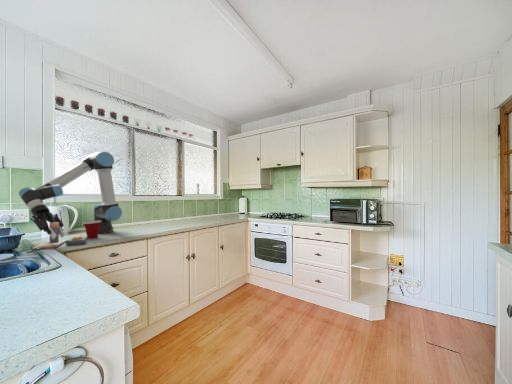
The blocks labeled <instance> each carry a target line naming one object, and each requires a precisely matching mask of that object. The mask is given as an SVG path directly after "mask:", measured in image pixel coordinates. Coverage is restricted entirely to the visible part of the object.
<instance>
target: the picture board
mask: <svg viewBox="0 0 512 384" xmlns="http://www.w3.org/2000/svg"><path fill="white" fill-rule="evenodd" d="M67 240H68V239H63V240H60V239H59V242H58V243H50V240H47V241H46V240H45V241H43V242H41V243H39V244H38V245H36V246H34V247H32V248H30V249H31V251H36V250H35V249H37V248H39V249H41V250H49V249H51V250H52V249H57V248H59V247H61V246H62V245H64V244H66V241H67Z"/></svg>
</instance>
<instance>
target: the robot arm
mask: <svg viewBox="0 0 512 384" xmlns="http://www.w3.org/2000/svg"><path fill="white" fill-rule="evenodd" d="M114 163H115V158H114V156H113V155H112V154H111V153H110V152H108V151H97V152H93V153H90V154H89V155H88V156H87V157H85V158H83V159H82V160H80V163H78V164H76V165H75V166H73V167H72V168H70V169H68V170H67V171H65V172H63V173H62V174H60V175H58V176H56V177H55V178H53V179H52V180H50V181H48V182H47V183H45V184H43V185H42V186H39V187H37V188H36V189H35V188H34V187H31V186H30V187H29V186H27V187H24V188H21V189H20V190H18V195H19V197H20V199H21V200H22V201H23V203H24V204H25V206H27V208H28V210H29V211H30V213H31V214H32V216H31V217H30V220H31V221H32V222H33V223H34V224H35V225H36V227H37V228H38V229H39V230H40V231H43V232H45V233H46V234H47V235H49V237H50V236H51V237H52V239H55V237H56V236H57V235H56V234H55V233H54V231H53V230H52V228H50V225H49V224H50V223H52V222H59V237H60V238H64V236H66V233H65V231H64V229H63V227H64V225H65V224H64V223H63V221H62V220H61V219H60V217H59V215H58V213H55V214H53V213H52V212H51V210H50V209H49V207H48V206H47V205H46V202H44V201H45V200H49V199H52V198H57V197H59V196H60V197H61V196H62V195H64V189H63V188H64V187H65V186H67V185H69V184H71V182H73V181H75V180H76V179H78V178H80V177H81V176H83V175H85V174H86V173H88V172H92V171H96V172H97V176H98V182H99V188H100V195H101V200H102V201H101V202H102V203H99V204H98V203H97V204H95V205H94V206H93V207H94V208H93V221H101V224H100V228H99V233H98V235H99V234H108V233H113V232H114V226H113V225H112V224H113V223H112V222H115V221H118V220H119V219H120V218H121V217H122V215H123V210H122V208H121V207H120V206H119V202H118V201H116V197H115V196H116V195H115V190H114V181H113V175H112V170H114V168H113V167H114ZM48 222H49V224H48Z"/></svg>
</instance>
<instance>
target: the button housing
mask: <svg viewBox="0 0 512 384" xmlns="http://www.w3.org/2000/svg"><path fill="white" fill-rule="evenodd" d="M66 240H67V241H66V242H65V246H66V245H69V246H81V245H86V244H87V243H88V242H89V239H88V237H87V236H82V239H77V240H73V237H70V238H68V239H66ZM87 241H88V242H87ZM86 242H87V243H86Z"/></svg>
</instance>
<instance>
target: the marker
mask: <svg viewBox="0 0 512 384" xmlns="http://www.w3.org/2000/svg"><path fill="white" fill-rule="evenodd" d="M49 228H52V230H53V231H54V233H55V234H56V235H57V236H56V237H55V239H52V237H51V236H50V235H49V241H50V243H58V242H59V240H60V239H59V238H60V235H59V222H52V223H50V222H49Z"/></svg>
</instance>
